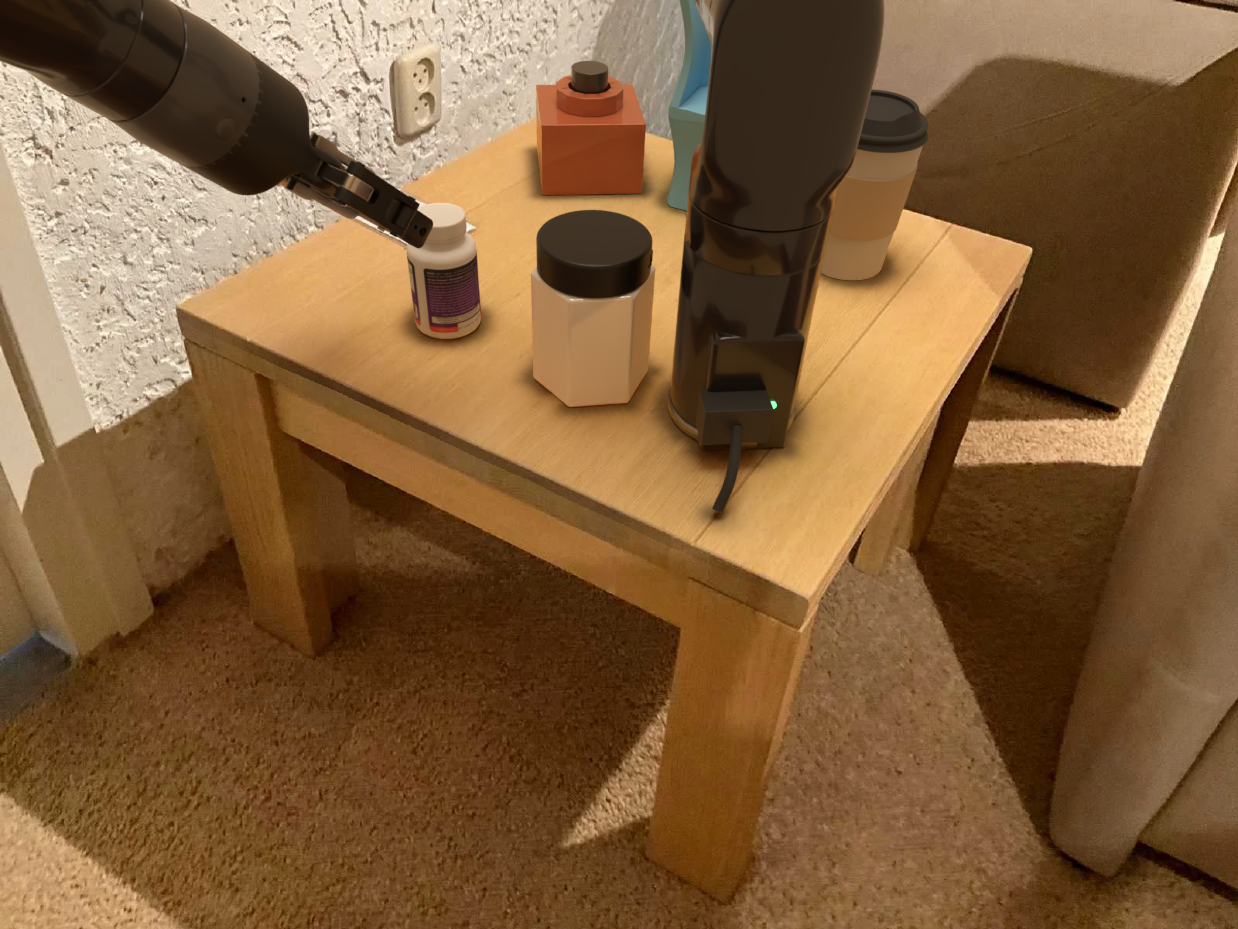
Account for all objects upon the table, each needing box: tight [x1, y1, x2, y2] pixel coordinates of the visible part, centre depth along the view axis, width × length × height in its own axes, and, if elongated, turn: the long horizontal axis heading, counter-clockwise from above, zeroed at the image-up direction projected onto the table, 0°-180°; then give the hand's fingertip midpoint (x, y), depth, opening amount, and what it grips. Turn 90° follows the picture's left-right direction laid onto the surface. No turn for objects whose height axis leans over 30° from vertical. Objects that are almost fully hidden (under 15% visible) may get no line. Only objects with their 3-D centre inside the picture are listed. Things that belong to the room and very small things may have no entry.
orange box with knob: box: [535, 74, 647, 196], centre depth 100 cm, size 10×10×9 cm
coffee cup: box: [821, 89, 929, 281], centre depth 87 cm, size 9×9×15 cm
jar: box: [530, 209, 656, 408], centre depth 73 cm, size 9×8×12 cm
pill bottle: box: [406, 202, 482, 340], centre depth 79 cm, size 5×5×10 cm
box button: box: [570, 60, 609, 94], centre depth 97 cm, size 4×4×2 cm
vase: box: [666, 0, 712, 212], centre depth 94 cm, size 8×8×20 cm
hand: (382, 214), depth 71 cm, fingers open, 8 cm apart
